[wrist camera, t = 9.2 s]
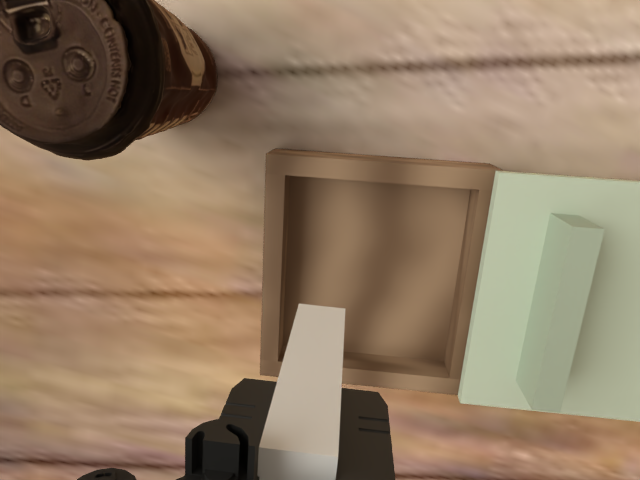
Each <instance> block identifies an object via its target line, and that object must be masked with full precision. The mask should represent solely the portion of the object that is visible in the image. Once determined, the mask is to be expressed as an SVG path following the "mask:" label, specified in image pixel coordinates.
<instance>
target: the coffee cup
mask: <svg viewBox="0 0 640 480" xmlns="http://www.w3.org/2000/svg"><path fill="white" fill-rule="evenodd" d="M216 89H217V72H216V64H215V60H214V57H213V55H212V53H211V51H210V49H209V48H208V47H207V45H206V44H205V43H204V42H203V41H202V39H201V38H200V37H199V36H198V35H197V34H196V33H195V32H194V31H192V30H191V29H189V28H188V27H186V26H185V25H184V24H183V23H182V22H181V21H180V20H179V19H178V18H177V17H176V16H175V15H173V14H172V13H171V12H169V11H168V10H166V9H165V8H164V7H163V6H161V5H160V4H158V3H157V2H156V1H154V0H0V125H1V126H2V127H4V128H5V129H7V130H9V131H10V132H12V133H13V134H15V135H17V136H18V137H20V138H22V139H24V140H26V141H28V142H30V143H32V144H34V145H35V146H37V147H40V148H42V149H45V150H48V151H50V152H52V153H54V154H56V155H59V156H63V157H68V158H74V159H82V160H94V159H102V158H106V157H111V156H114V155H117V154H118V153H121V152H122V151H123V150H125V149H126V147H128V146H129V145H130V144H131V143H132V142H133V141H135V140H139V139H142V138H144V137H146V136H149V135H153V134H156V133H158V132H162V131H165V130H167V129H169V128H173V127H175V126H177V125H180V124H183V123H186V122H189V121H191V120H192V119H194V118H195V117H197V116H198V115H199V114H200V113H202V112H203V110H204V109H205V108H206V107H207V106H208V104H209V103H210V102H211V100H212V98H213V96H214V94H215V92H216Z"/></svg>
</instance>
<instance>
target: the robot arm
mask: <svg viewBox="0 0 640 480" xmlns="http://www.w3.org/2000/svg"><path fill="white" fill-rule="evenodd" d="M344 328H345V308H336V307H326V306H317V305H308V304H299V305H298V309H297V312H296V316H295V319H294V323H293V327H292V330H291V334H290V337H289V341H288V345H287V348H286V352H285V355H284V359H283V362H282V366H281V370H280V373H279V377H278V380H277V382H273V381H264V380H255V379H247V378H244V379H243V380H242V381H241V382H239V383H238V384H237V385H236V386H235V387H233V388H232V390H231V392H230V394H229V397H228V399H227V401H226V405H225V406H224V408H223V411H222V413H221V416H220V418H219V419H216V420H212V421H208V422H205V423H202V424H201V425H199V426H197V427H196V428H194V429H192V431H191V432H190V433H189V434H188V435H187V437H186V438H185V476H183V477H181V478H179V479H176V480H395V473H394V463H393V454H392V444H391V435H390V425H389V415H388V406H387V404H386V403H385V401H384V400H383V398H382V397H381V396H380V394H379V393H378V392H372V391H363V390H354V389H346V388H342V369H343V348H344ZM77 480H136V478H135V476H134V475H132V474H131V473H129V472H127V471H126V470H122V469H115V468H108V469H101V470H96V471H93V472H91V473H88V474H86V475H83V476H82V477H80V478H79V479H77Z"/></svg>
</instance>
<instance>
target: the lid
mask: <svg viewBox="0 0 640 480" xmlns="http://www.w3.org/2000/svg"><path fill="white" fill-rule="evenodd" d="M458 398H459V401H460V403H462V404H472V405H482V406H492V407H501V408H511V409H521V410H530V411H540V412H550V413H560V414H569V415H579V416H589V417H599V418H608V419H618V420H628V421H638V422H640V181H635V180H622V179H608V178H594V177H580V176H566V175H552V174H538V173H524V172H510V171H495V177H494V183H493V189H492V195H491V201H490V207H489V213H488V219H487V225H486V231H485V237H484V243H483V249H482V255H481V261H480V266H479V272H478V278H477V284H476V290H475V296H474V302H473V308H472V314H471V320H470V326H469V332H468V338H467V344H466V350H465V356H464V362H463V368H462V374H461V380H460V386H459V391H458Z"/></svg>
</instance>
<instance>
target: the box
mask: <svg viewBox="0 0 640 480" xmlns="http://www.w3.org/2000/svg"><path fill="white" fill-rule="evenodd" d="M495 171H503V170H501V169H499V168H497V167H495V166H493V165H491V164H486V163H472V162H458V161H444V160H429V159H415V158H401V157H387V156H373V155H359V154H345V153H330V152H316V151H302V150H288V149H274V150H272V151H270V152H268V153H267V154H266V173H265V210H264V246H263V283H262V319H261V355H260V375H265V376H275V377H279V373H280V370H281V366H282V362H283V359H284V355H285V352H286V348H287V345H288V341H289V337H290V334H291V330H292V327H293V323H294V319H295V316H296V312H297V309H298V305H299V304H308V305H317V306H326V307H336V308H345V328H344V348H343V369H342V383H344V384H353V385H363V386H373V387H383V388H393V389H402V390H412V391H422V392H432V393H442V394H452V395H458V391H459V386H460V380H461V374H462V368H463V362H464V356H465V350H466V344H467V338H468V332H469V326H470V320H471V314H472V308H473V302H474V296H475V290H476V284H477V278H478V272H479V266H480V261H481V255H482V249H483V243H484V237H485V231H486V225H487V219H488V213H489V207H490V201H491V195H492V189H493V183H494V177H495Z"/></svg>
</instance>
